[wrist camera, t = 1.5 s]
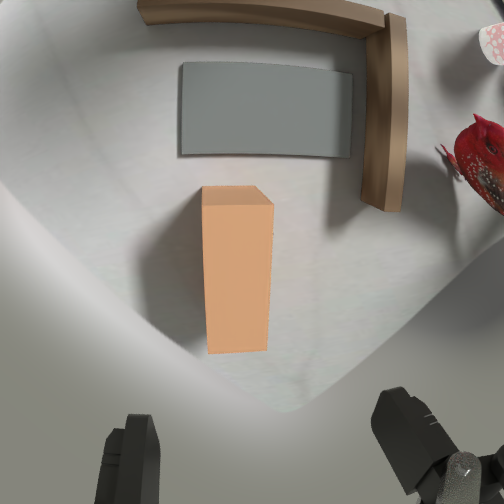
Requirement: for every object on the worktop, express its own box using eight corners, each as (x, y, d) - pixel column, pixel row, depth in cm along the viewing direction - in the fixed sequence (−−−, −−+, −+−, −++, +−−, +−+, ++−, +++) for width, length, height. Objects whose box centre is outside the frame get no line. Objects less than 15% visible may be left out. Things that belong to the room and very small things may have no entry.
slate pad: (183, 63, 20) (183, 62, 20) (350, 74, 22) (352, 74, 22) (181, 154, 23) (181, 154, 22) (347, 157, 25) (349, 158, 24)
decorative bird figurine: (420, 102, 24) (502, 101, 14) (499, 218, 29) (561, 246, 20) (404, 123, 24) (487, 129, 15) (487, 236, 30) (549, 270, 20)
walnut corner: (148, 9, 18) (139, -11, 14) (380, 29, 21) (405, 18, 17) (144, 201, 24) (133, 214, 20) (375, 200, 26) (400, 212, 22)
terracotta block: (202, 186, 24) (201, 205, 17) (254, 185, 24) (274, 204, 18) (205, 303, 27) (208, 354, 21) (252, 301, 28) (266, 350, 22)
